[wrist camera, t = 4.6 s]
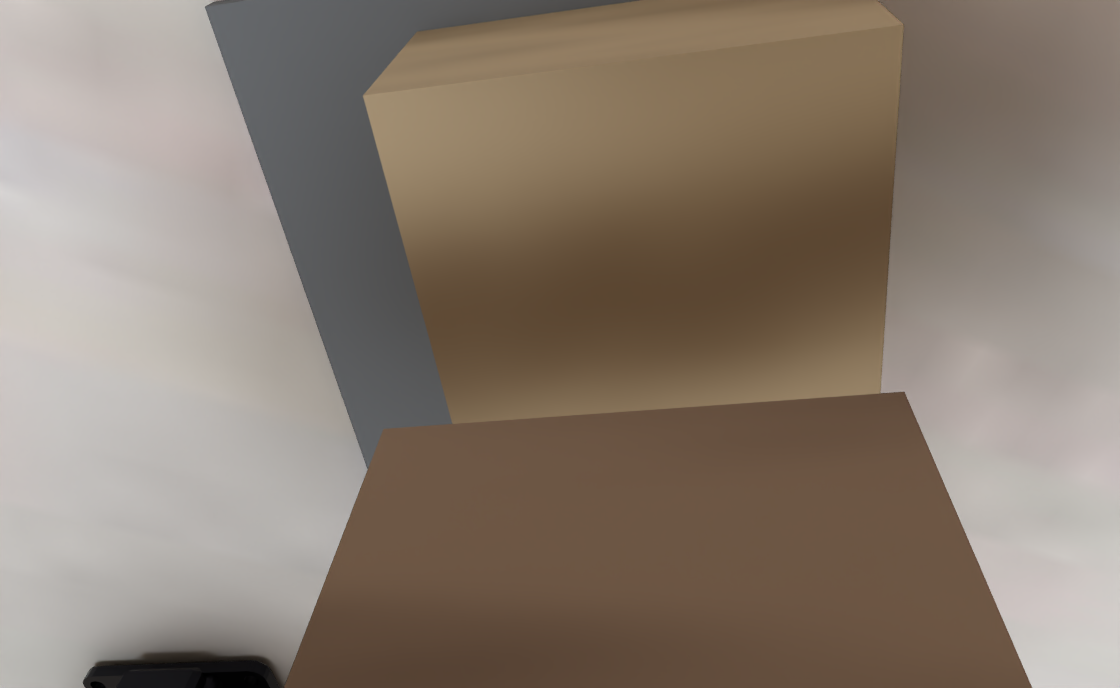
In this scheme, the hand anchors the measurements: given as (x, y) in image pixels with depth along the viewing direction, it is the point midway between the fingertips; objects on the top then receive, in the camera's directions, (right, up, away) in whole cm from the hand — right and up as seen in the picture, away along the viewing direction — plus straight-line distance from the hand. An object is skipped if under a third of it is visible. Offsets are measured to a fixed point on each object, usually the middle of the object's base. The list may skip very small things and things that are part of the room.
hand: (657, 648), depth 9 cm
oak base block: (+1, +6, +9) cm, 11 cm away
